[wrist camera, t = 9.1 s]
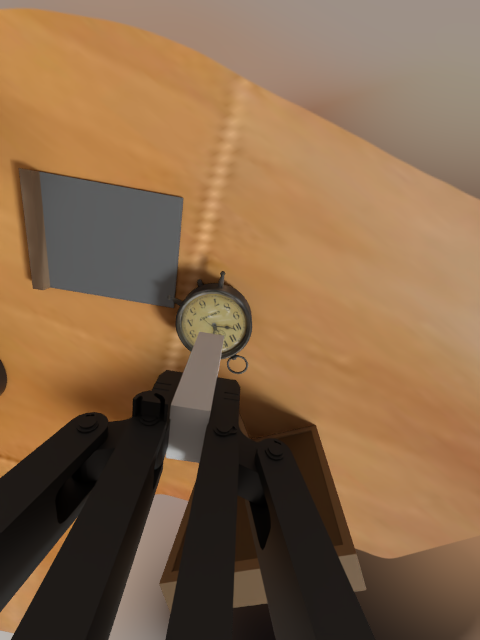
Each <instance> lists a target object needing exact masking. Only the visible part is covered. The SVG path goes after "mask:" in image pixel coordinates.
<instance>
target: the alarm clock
mask: <svg viewBox="0 0 480 640" xmlns="http://www.w3.org/2000/svg"><path fill="white" fill-rule="evenodd" d="M220 274H221V277H220V279H219V282H218V283H211V284H205V285H203V283H202V281H201V279H199V280H198V282H197V283H198V286H199V287H198V288H196V289H194V290H193V291H192V292H191V293H190V294H189V295H188V296H187V297H186V299H185V300H184V301H181V300H179V299H176V298H173V297H172V296H170V295H168V296H167V298H168V299H171V300H172V301H173V302H175V303H176V304H178V305H179V306H180V308H179V309H178V312H177V315H176V330H177V334H178V336H179V338H180V340H181V342H182V343H183V345H184V346H185V347H186V348H187V349H188V350H190V351H191V352H192V349H193V346H194V344H195V341H196V339H197V336H198V334H199V332H205V333H211V334H217V335H223V336H224V340H223V347H222V353H221V359H225V358H229V357H231V358H229V359H228V361H227V367H228V369H229V370H230V371H231V372H232V373H235V374H242V373H244V372H245V371H246V370H247V368H248V362H247V360H246V359H245V358H244V357H242V356H239V355H236V354H237V353H238V352H240V351H241V350H242V349H243V348H244V347H245V346H246V344H247V342H248V341H249V339H250V336H251V332H252V316H251V310H250V307H249V304H248V302H247V300H246V299H245V298H244V296H243V295H242V294H241V293H240V292H239V291H237V290H236V289H234V288H233V287H231V286H228V285H224V275H225V272H224V271H222V272H221V273H220ZM237 357H240V358H242V359H244V360H245V362H246V368H245V369H244V370H243V371H241V372H235V371H233V370H231V369H230V367H229V361H230V360H231V359H233V360H235V359H236V358H237Z"/></svg>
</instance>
